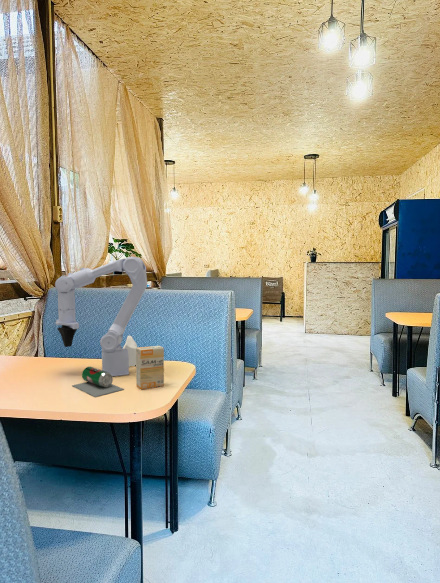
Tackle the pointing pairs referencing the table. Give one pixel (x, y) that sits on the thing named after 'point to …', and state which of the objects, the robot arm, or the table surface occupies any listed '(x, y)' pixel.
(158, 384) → the supplement box
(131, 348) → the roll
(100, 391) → the mat
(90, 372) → the soda can
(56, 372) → the table surface
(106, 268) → the robot arm
